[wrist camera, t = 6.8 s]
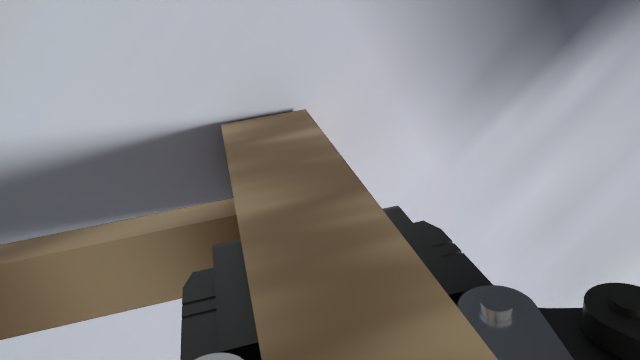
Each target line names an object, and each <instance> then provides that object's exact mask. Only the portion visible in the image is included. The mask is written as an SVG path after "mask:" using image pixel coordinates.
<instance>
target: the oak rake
mask: <svg viewBox="0 0 640 360" xmlns="http://www.w3.org/2000/svg"><path fill="white" fill-rule="evenodd" d="M221 129H222V134H223V140H224V146H225V152H226V157H227V163H228V169H229V175H230V180H231V186H232V192H233V198H230V199H225V200H220V201H215V202H210V203H205V204H200V205H195V206H190V207H185V208H180V209H175V210H170V211H166V212H161V213H156V214H151V215H146V216H141V217H136V218H131V219H126V220H121V221H116V222H111V223H106V224H102V225H97V226H92V227H87V228H82V229H77V230H72V231H67V232H62V233H57V234H52V235H47V236H42V237H37V238H33V239H28V240H23V241H18V242H13V243H8V244H3V245H0V340H3V339H7V338H11V337H16V336H20V335H24V334H29V333H33V332H37V331H42V330H46V329H50V328H55V327H59V326H63V325H68V324H72V323H76V322H81V321H85V320H89V319H94V318H98V317H102V316H107V315H111V314H115V313H120V312H124V311H128V310H133V309H137V308H141V307H146V306H150V305H154V304H159V303H163V302H167V301H172V300H176V299H180V298H182V294H183V287H184V285H185V283H186V282H187V280H188V279H189V277H190V275H191V274H192V272H196V271H200V270H204V269H209V268H213V254H212V246H213V245H217V244H222V243H226V242H231V241H236V240H240V239H241V244H242V250H243V255H244V261H245V267H246V273H247V278H248V284H249V290H250V296H251V301H252V307H253V313H254V319H255V325H256V330H257V336H258V342H259V348H260V353H261V359H262V360H498V359H497V358H496V357H495V355H494V354H493V353H492V351H491V350H490V349H489V347H488V346H487V345H486V344H485V342H484V341H483V340H482V338H481V337H480V336H479V334H478V333H477V332H476V331H475V329H474V328H473V327H472V325H471V324H470V323H469V321H468V320H467V319H466V318H465V316H464V315H463V314H462V312H461V311H460V310H459V308H458V307H457V306H456V305H455V303H454V302H453V301H452V299H451V298H450V297H449V295H448V294H447V293H446V292H445V290H444V289H443V288H442V286H441V285H440V284H439V282H438V281H437V280H436V279H435V277H434V276H433V275H432V273H431V272H430V271H429V269H428V268H427V267H426V266H425V264H424V263H423V262H422V260H421V259H420V258H419V256H418V255H417V254H416V252H415V251H414V250H413V249H412V247H411V246H410V245H409V243H408V242H407V241H406V239H405V238H404V237H403V236H402V234H401V233H400V232H399V230H398V229H397V228H396V226H395V225H394V224H393V223H392V221H391V220H390V219H389V217H388V216H387V215H386V213H385V212H384V211H383V210H382V208H381V207H380V206H379V204H378V203H377V202H376V200H375V199H374V198H373V197H372V195H371V194H370V193H369V191H368V190H367V189H366V187H365V186H364V185H363V184H362V182H361V181H360V180H359V178H358V177H357V176H356V174H355V173H354V172H353V171H352V169H351V168H350V167H349V165H348V164H347V163H346V161H345V160H344V159H343V157H342V156H341V155H340V154H339V152H338V151H337V150H336V148H335V147H334V146H333V144H332V143H331V142H330V141H329V139H328V138H327V137H326V135H325V134H324V133H323V131H322V130H321V129H320V128H319V126H318V125H317V124H316V122H315V121H314V120H313V118H312V117H311V116H310V115H309V113H308V112H307V111H306V109H305V110H299V111H294V112H288V113H283V114H277V115H272V116H266V117H260V118H255V119H249V120H244V121H238V122H232V123H227V124H221Z"/></svg>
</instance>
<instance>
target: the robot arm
mask: <svg viewBox="0 0 640 360" xmlns="http://www.w3.org/2000/svg"><path fill="white" fill-rule="evenodd" d="M382 210H383V211H384V212H385V213H386V215H387V216H388V217H389V219H390V220H391V221H392V223H393V224H394V225H395V226H396V228H397V229H398V230H399V232H400V233H401V234H402V236H403V237H404V238H405V239H406V241H407V242H408V243H409V245H410V246H411V247H412V249H413V250H414V251H415V252H416V254H417V255H418V256H419V258H420V259H421V260H422V262H423V263H424V264H425V266H426V267H427V268H428V269H429V271H430V272H431V273H432V275H433V276H434V277H435V279H436V280H437V281H438V282H439V284H440V285H441V286H442V288H443V289H444V290H445V292H446V293H447V294H448V295H449V297H450V298H451V299H452V301H453V302H454V303H455V305H456V306H457V307H458V308H459V310H460V311H461V312H462V314H463V315H464V316H465V318H466V319H467V320H468V321H469V323H470V324H471V325H472V327H473V328H474V329H475V331H476V332H477V333H478V334H479V336H480V337H481V338H482V340H483V341H484V342H485V344H486V345H487V346H488V347H489V349H490V350H491V351H492V353H493V354H494V355H495V357H496V358H497V359H498V360H640V287H639V286H635V285H630V284H625V283H605V284H600V285H597V286H594V287H592V288H591V289H589V290H588V291H587V292H586V294H585V296H584V303H583V308H538V307H537V306H536V305H535V303H534V302H533V301H532V300H531V299H530V298H529V297H528V296H526V295H525V294H523V293H521V292H519V291H517V290H515V289H512V288H508V287H504V286H496V285H493V284H492V283H491V282H490V281H489V280H488V279H487V278H486V277H485V276H484V275H483V274H482V273H481V272H480V271H479V269H478V268H477V267H476V266H475V265H474V264H473V263H472V262H471V261H470V260H469V259H468V258H467V257H466V255H465V254H464V253H463V254H462V253H461V250H460V249H459V248H458V247H457V246H456V245H455V244H453V243H452V240H451V239H450V238H449V237H448V236H447V235H446V234H445V233H444V232H443V231H442V230H441V229H440V228H437V227H435V226H433V225H431V224H429V223H427V222H425V221H420V222H416V223H413V222H412V221H411V220H410V219H409V218H408V217H407V215H406V214H405V213H404V212H403V211H402V209H401V208H400V207H399V206H393V207H389V208H384V209H382ZM212 254H213V268H209V269H204V270H200V271H196V272H192V274H191V275H190V277H189V279H188V280H187V282H186V283H185V285H184V287H183V294H182V305H183V307H182V329H181V360H262V359H261V353H260V348H259V342H258V336H257V330H256V325H255V319H254V313H253V307H252V301H251V296H250V290H249V284H248V278H247V273H246V267H245V261H244V255H243V250H242V244H241V239H240V240H236V241H231V242H226V243H222V244H217V245H213V246H212Z"/></svg>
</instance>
